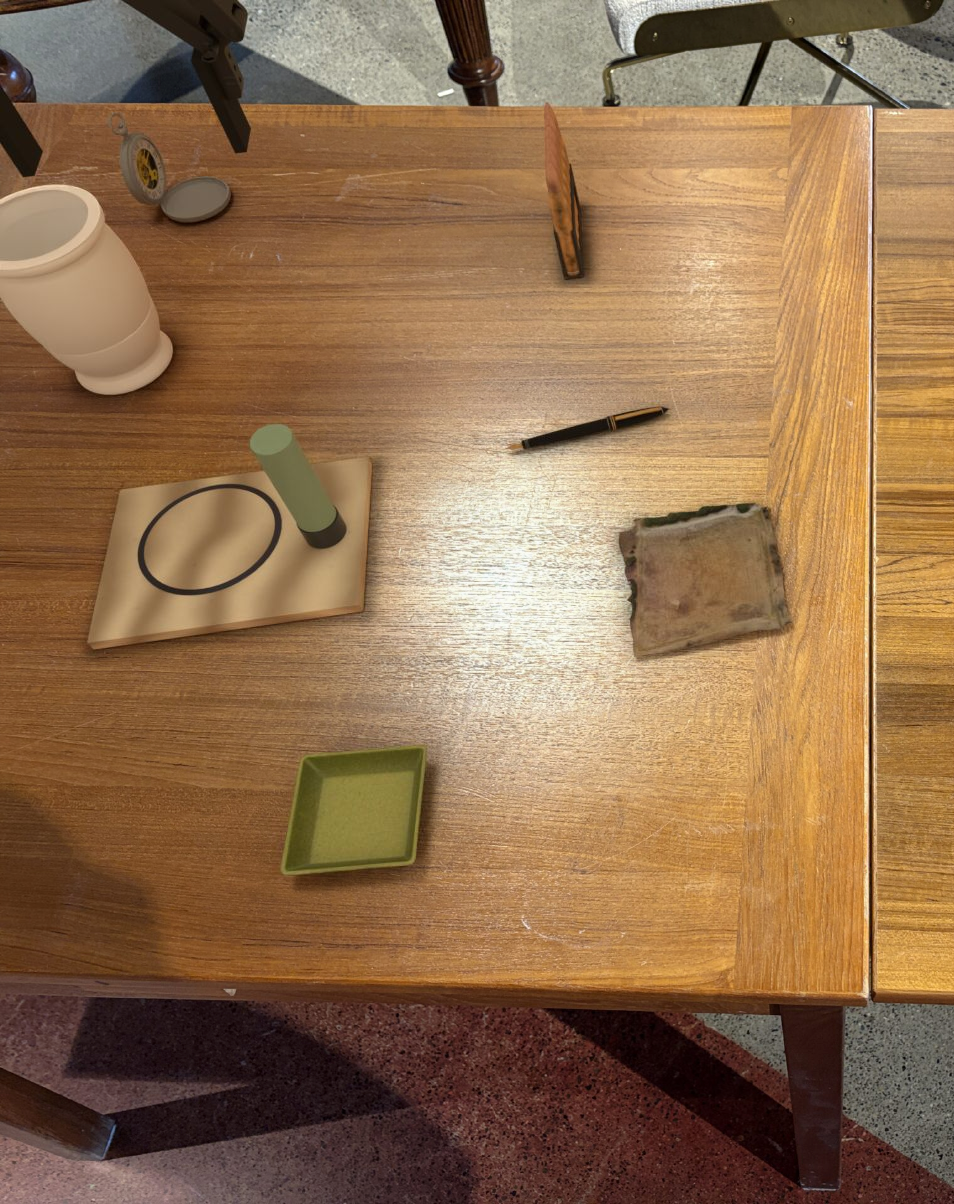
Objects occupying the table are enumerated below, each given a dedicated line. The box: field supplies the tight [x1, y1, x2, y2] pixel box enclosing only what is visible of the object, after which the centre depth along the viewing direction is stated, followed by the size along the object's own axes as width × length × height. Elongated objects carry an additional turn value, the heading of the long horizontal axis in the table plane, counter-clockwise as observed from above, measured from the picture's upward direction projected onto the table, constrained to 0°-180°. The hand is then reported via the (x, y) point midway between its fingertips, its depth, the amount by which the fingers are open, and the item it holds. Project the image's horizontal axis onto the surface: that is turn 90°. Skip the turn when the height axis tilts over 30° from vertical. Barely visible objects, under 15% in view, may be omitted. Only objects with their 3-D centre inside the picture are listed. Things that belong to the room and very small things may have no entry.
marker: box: [249, 423, 346, 549], centre depth 87 cm, size 3×3×11 cm
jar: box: [0, 184, 174, 396], centre depth 98 cm, size 11×10×15 cm
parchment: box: [618, 502, 793, 657], centre depth 89 cm, size 12×13×1 cm
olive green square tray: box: [279, 744, 428, 876], centre depth 78 cm, size 9×9×2 cm
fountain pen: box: [504, 406, 670, 451], centre depth 98 cm, size 14×1×2 cm, turn 108°
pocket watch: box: [108, 112, 232, 223], centre depth 113 cm, size 8×8×10 cm
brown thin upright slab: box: [543, 101, 585, 280], centre depth 107 cm, size 11×2×12 cm, turn 8°
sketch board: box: [86, 456, 373, 650], centre depth 91 cm, size 20×15×1 cm
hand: (139, 153), depth 77 cm, fingers open, 13 cm apart
